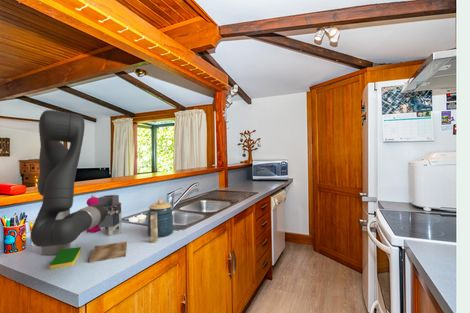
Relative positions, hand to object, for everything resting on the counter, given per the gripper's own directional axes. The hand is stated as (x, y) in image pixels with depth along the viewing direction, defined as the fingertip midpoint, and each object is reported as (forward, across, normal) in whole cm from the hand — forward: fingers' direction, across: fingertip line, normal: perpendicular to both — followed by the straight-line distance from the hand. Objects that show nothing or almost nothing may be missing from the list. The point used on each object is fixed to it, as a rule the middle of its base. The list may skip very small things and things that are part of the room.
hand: (111, 206), depth 97 cm
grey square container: (-3, 0, +7) cm, 7 cm away
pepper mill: (+29, +23, +19) cm, 41 cm away
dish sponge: (-6, +15, +20) cm, 25 cm away
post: (+9, -15, +19) cm, 26 cm away
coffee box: (+25, +11, +19) cm, 33 cm away
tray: (-2, 0, +19) cm, 19 cm away
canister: (+20, -15, +19) cm, 32 cm away
